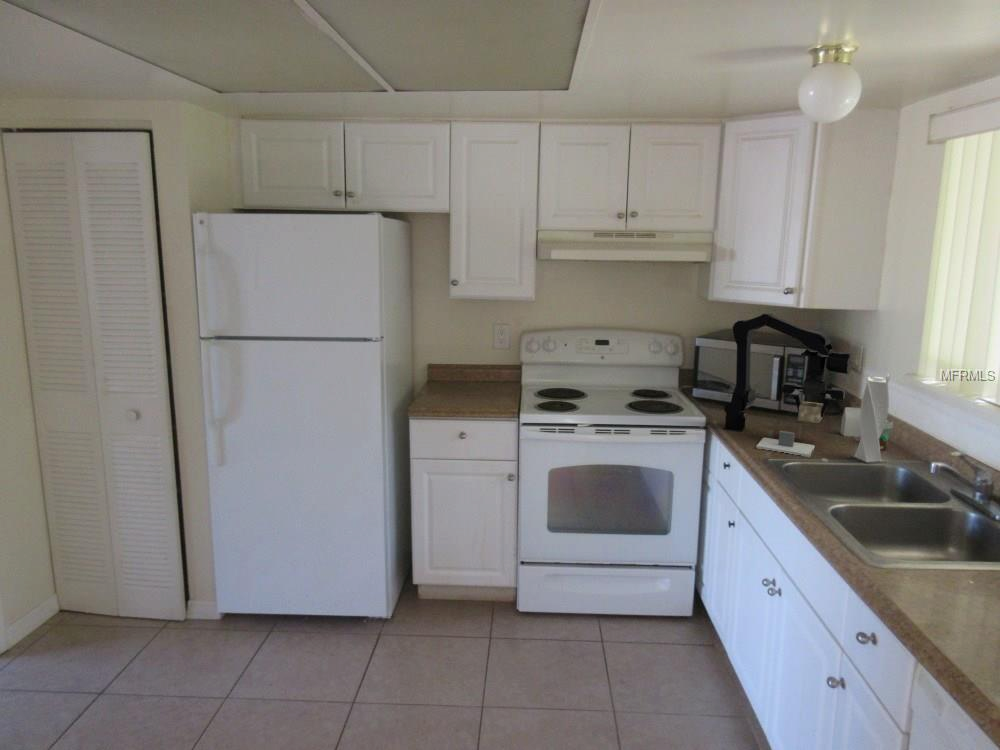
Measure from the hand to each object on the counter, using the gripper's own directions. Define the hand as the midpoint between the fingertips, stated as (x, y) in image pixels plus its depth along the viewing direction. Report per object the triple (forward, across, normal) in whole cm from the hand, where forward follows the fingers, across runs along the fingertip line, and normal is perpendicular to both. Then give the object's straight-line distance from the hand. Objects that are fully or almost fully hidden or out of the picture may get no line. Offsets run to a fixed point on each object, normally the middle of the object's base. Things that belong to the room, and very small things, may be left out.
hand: (810, 415), depth 223 cm
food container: (+10, +21, +8) cm, 24 cm away
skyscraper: (+10, +19, -10) cm, 23 cm away
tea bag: (+10, +12, +20) cm, 25 cm away
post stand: (+10, -5, -12) cm, 16 cm away
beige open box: (+1, 0, 0) cm, 1 cm away
